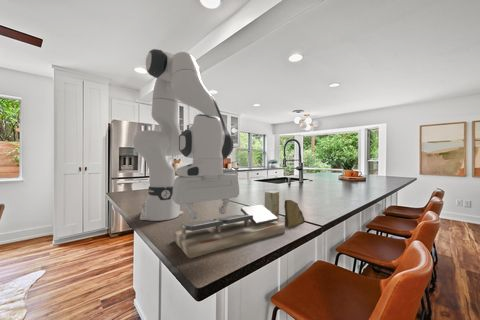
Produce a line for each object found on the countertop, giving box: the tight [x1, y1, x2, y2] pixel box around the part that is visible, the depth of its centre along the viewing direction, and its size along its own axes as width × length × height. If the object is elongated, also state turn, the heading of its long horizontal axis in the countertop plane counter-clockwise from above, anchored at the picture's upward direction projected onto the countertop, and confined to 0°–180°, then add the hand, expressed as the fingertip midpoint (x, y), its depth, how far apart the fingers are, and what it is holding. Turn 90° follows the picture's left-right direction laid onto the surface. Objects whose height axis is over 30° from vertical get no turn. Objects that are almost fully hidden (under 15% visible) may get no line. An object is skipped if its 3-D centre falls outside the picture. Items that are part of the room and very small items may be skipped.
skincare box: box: [264, 190, 280, 219], centre depth 91 cm, size 6×4×12 cm
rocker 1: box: [180, 219, 223, 231], centre depth 64 cm, size 10×10×1 cm
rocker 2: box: [240, 204, 279, 226], centre depth 77 cm, size 10×10×1 cm
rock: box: [283, 199, 306, 228], centre depth 85 cm, size 11×9×10 cm
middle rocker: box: [212, 214, 253, 224], centre depth 71 cm, size 10×10×1 cm
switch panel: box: [173, 210, 286, 259], centre depth 71 cm, size 14×36×6 cm, turn 124°
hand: (208, 215), depth 60 cm, fingers open, 8 cm apart
